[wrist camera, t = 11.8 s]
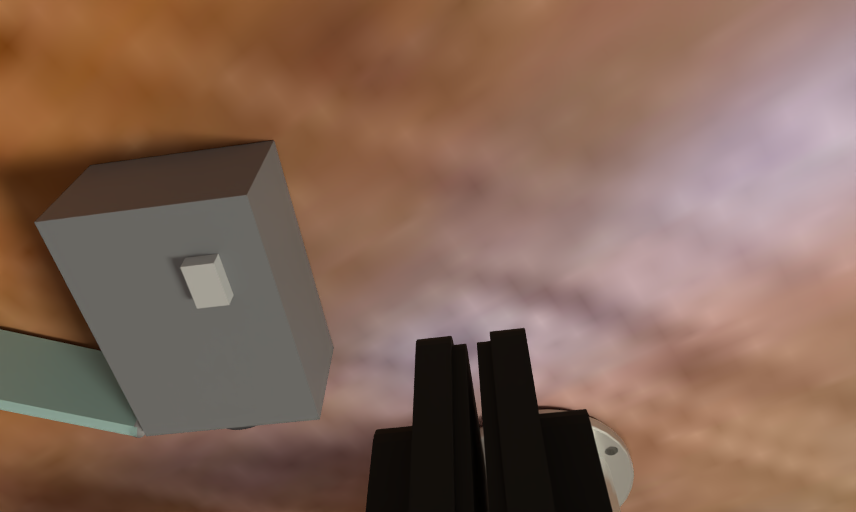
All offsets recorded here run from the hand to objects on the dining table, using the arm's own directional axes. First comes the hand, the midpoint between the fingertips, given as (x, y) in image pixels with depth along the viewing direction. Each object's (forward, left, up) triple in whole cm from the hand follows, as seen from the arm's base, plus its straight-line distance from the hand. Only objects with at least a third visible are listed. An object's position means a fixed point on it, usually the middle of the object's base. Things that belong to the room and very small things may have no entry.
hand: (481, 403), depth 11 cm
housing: (-12, +15, -25) cm, 32 cm away
